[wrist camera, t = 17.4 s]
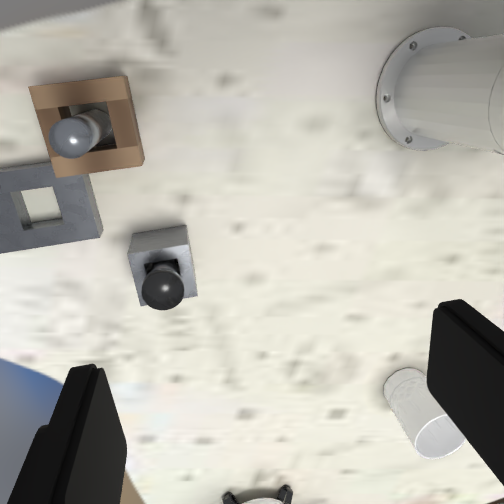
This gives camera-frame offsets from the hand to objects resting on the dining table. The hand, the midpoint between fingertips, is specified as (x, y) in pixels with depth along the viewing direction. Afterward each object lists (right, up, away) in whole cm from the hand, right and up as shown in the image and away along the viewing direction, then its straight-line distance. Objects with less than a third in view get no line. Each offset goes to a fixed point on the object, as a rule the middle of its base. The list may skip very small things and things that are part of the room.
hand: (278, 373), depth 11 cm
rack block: (-16, +16, +29) cm, 37 cm away
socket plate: (-22, +9, +31) cm, 39 cm away
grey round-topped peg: (-16, +16, +29) cm, 37 cm away
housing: (-11, +3, +36) cm, 38 cm away
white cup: (+22, -17, +51) cm, 58 cm away
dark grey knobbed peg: (-11, +3, +35) cm, 37 cm away
